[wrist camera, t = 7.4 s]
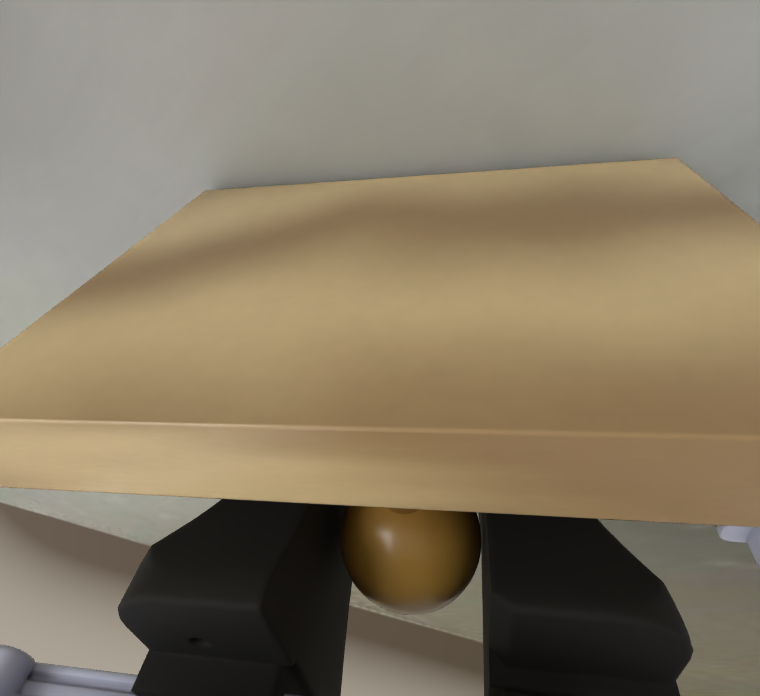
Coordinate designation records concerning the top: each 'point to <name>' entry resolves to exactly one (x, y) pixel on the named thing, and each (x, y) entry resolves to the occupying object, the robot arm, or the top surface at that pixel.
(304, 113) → the top surface
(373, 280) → the wooden knob panel
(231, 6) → the top surface
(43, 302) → the top surface
